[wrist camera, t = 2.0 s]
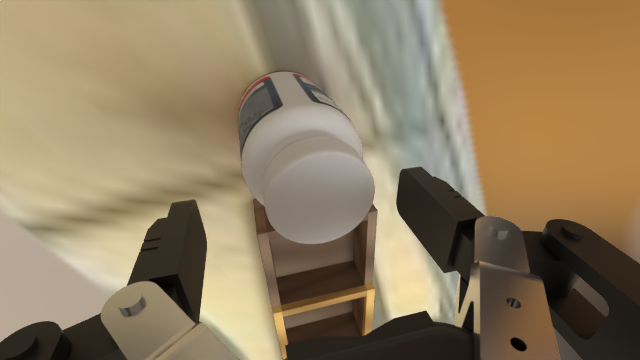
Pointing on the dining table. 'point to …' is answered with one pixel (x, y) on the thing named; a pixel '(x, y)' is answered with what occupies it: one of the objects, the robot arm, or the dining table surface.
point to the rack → (319, 281)
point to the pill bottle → (302, 159)
